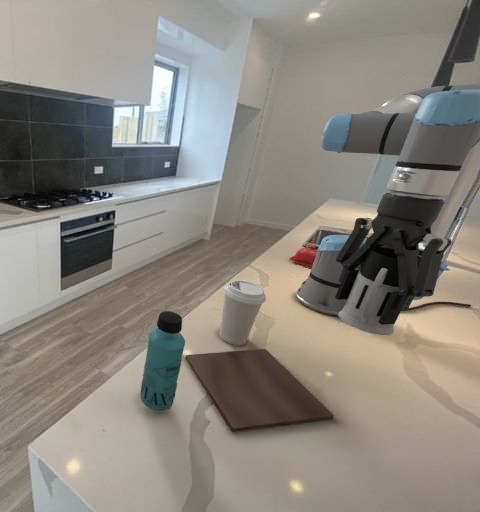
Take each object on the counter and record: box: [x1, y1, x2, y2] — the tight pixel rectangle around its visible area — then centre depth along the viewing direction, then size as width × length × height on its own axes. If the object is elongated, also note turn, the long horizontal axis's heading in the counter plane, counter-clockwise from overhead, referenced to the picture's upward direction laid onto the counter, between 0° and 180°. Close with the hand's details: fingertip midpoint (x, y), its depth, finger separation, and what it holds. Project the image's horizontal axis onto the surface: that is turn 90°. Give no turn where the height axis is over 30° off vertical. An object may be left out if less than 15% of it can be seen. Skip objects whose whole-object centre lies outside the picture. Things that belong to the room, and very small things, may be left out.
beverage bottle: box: [139, 310, 186, 412], centre depth 54 cm, size 6×7×20 cm
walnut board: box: [184, 348, 335, 433], centre depth 63 cm, size 21×19×1 cm
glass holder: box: [338, 246, 421, 336], centre depth 56 cm, size 9×14×15 cm, turn 128°
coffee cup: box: [219, 279, 267, 346], centre depth 76 cm, size 10×10×15 cm
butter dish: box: [288, 244, 318, 268], centre depth 129 cm, size 12×12×8 cm
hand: (362, 309), depth 59 cm, fingers closed on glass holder, 8 cm apart
